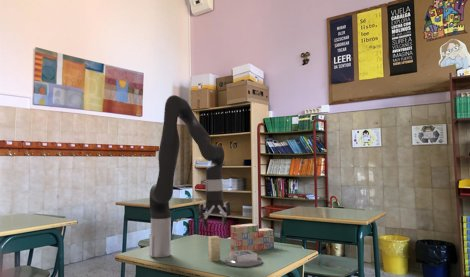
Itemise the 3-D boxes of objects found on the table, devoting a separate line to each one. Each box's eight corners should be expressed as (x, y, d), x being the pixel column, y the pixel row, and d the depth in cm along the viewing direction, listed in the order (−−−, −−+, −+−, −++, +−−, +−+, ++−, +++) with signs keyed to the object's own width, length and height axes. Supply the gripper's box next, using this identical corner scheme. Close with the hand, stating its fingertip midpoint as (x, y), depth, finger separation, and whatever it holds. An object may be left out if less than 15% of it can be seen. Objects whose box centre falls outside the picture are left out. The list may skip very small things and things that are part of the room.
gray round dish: (232, 269, 147) (232, 258, 147) (219, 259, 162) (219, 250, 162) (268, 264, 153) (268, 255, 153) (252, 256, 168) (252, 247, 168)
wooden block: (211, 261, 159) (211, 237, 160) (208, 259, 163) (208, 236, 164) (219, 260, 161) (219, 237, 162) (216, 258, 164) (216, 235, 165)
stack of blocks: (267, 246, 190) (267, 221, 191) (274, 248, 185) (273, 223, 185) (230, 250, 180) (230, 225, 181) (236, 253, 174) (236, 227, 175)
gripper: (201, 191, 158) (202, 229, 157) (232, 189, 164) (233, 226, 163) (196, 190, 165) (197, 226, 164) (225, 188, 171) (226, 223, 170)
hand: (215, 226), depth 164 cm, fingers open, 8 cm apart
